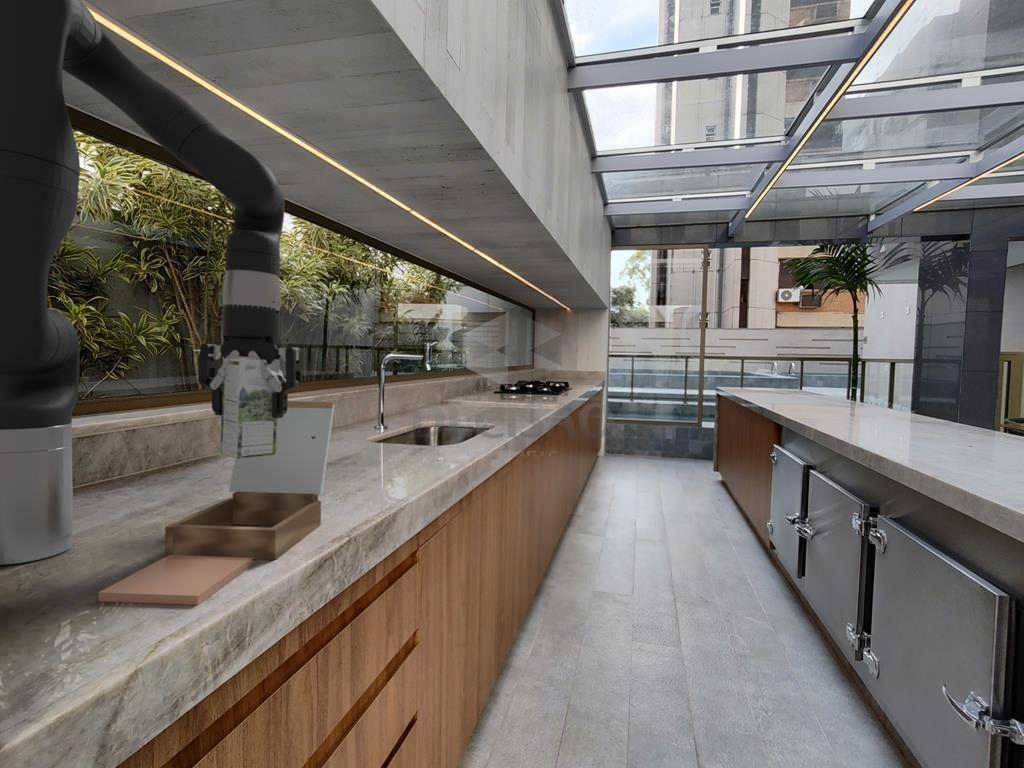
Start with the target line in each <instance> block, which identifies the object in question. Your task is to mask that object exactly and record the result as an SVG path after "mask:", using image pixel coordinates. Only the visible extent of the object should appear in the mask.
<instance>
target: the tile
mask: <svg viewBox="0 0 1024 768" xmlns="http://www.w3.org/2000/svg"><path fill="white" fill-rule="evenodd" d="M253 560H254V559H253V558H247V557H217V556H187V555H168V556H164V557H162V558H161V559H159V560H157V561H155V562H153V563H152V564H151V563H150V564H149V565H147V566H146V567H143V568H142V569H140V570H138V571H136V572H134V573H132V574H130V575H128V576H127V577H125V578H123V579H120V580H119V581H118V582H115V583H113V584H112V585H110V586H108V587H106V588H104V589H102V590H100V591H98V602H105V603H106V602H110V603H131V604H132V603H133V604H135V603H136V604H137V603H139V604H161V605H164V604H165V605H185V606H190V605H191V606H198V605H200V604H201V603H203V602H204V601H206V599H208V598H210V597H211V596H212V595H214V594H215V593H216V592H218V591H220V590H221V589H222V588H224V587H225V586H226V585H227V584H229V583H231V582H232V581H233V580H235V579H236V578H238V576H240V575H241V574H243V573H244V572H245V571H247V570H248V569H249V568H251V567H253Z"/></svg>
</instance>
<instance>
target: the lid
mask: <svg viewBox="0 0 1024 768" xmlns="http://www.w3.org/2000/svg"><path fill="white" fill-rule="evenodd" d="M287 404H288V405H287V412H286V414H284V416H283V417H282V418H277V437H276V454H275V455H268V456H259V457H249V458H238V459H237V458H234V464H233V469H232V474H231V479H230V484H229V490H228V492H230V493H235V492H254V493H288V494H315V495H318V496H320V495H323V491H324V489H323V488H324V481H325V476H326V475H325V474H326V470H327V464H328V457H329V456H328V455H329V454H328V453H329V448H330V441H331V434H332V433H331V432H332V426H333V420H334V412H335V409H336V401H331V400H330V401H326V400H325V401H321V400H320V401H319V400H289V399H288V403H287ZM311 436H315V438H314V439H312V437H311Z"/></svg>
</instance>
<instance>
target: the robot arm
mask: <svg viewBox="0 0 1024 768" xmlns="http://www.w3.org/2000/svg"><path fill="white" fill-rule="evenodd" d="M64 71H65V73H67V74H69V75H71V76H72V77H73V78H75V79H77V80H78V81H80V82H82V83H83V84H85V85H87V86H89V87H90V88H91V89H93V90H94V91H96V92H97V93H99V94H100V95H101V96H102V97H104V98H106V100H108V101H109V102H111V103H112V104H113V105H115V107H117V108H118V109H119V110H121V111H122V112H123V113H124V114H125V115H127V117H128V118H129V119H131V120H132V121H133V122H134V123H135V124H136V125H137V126H138V127H139V128H140V129H141V130H143V131H144V132H145V133H146V134H147V135H148V136H149V137H150V138H152V140H154V141H155V142H157V144H158V145H160V146H161V147H162V148H163V149H165V151H167V152H168V153H169V154H170V155H171V156H173V157H174V158H176V160H178V161H179V162H180V163H182V164H183V165H184V166H185V167H186V168H188V169H189V170H190V171H193V172H194V173H196V174H197V175H200V176H201V177H203V178H204V179H205V180H206V182H208V183H210V185H212V186H213V187H214V188H215V189H216V190H217V191H219V193H221V194H222V196H224V197H225V198H227V200H228V201H229V202H230V203H231V204H232V205H233V207H234V219H233V220H234V221H233V232H231V233H230V234H229V235H228V237H227V239H226V240H227V241H226V245H225V275H224V280H223V287H222V289H223V290H222V321H221V322H222V324H221V325H222V326H221V327H222V329H221V332H222V334H221V335H222V336H223V342H222V344H221V345H217V344H215V343H201V344H200V346H199V347H200V348H199V349H200V350H199V361H198V362H199V363H198V375H197V383H198V384H199V385H205V386H206V387H209V388H210V389H211V410H212V412H214V415H215V416H220V417H221V415H222V384H223V382H224V380H225V377H226V375H227V373H228V362H229V359H230V358H232V357H231V356H246V357H250V358H256V360H261V365H262V366H261V372H260V373H261V374H262V375H263V377H264V378H265V379H266V380H267V381H268V382H269V383H270V384H271V386H272V387H273V389H274V390H275V393H273V395H272V417H273V418H282V417H283V416H284V414H286V412H287V405H288V404H287V403H288V400H289V392H290V391H292V390H295V389H297V388H298V389H299V388H301V387H302V385H303V384H302V383H303V381H302V379H303V378H302V375H303V374H302V351H301V349H300V348H299V347H296V346H295V347H294V346H287V347H281V345H280V337H281V306H282V299H281V298H282V297H281V294H282V292H281V282H280V271H281V270H280V266H281V265H280V264H281V263H280V262H281V261H280V259H281V257H280V256H281V252H280V243H281V237H282V232H283V226H284V219H285V196H284V192H283V190H282V188H281V185H280V184H279V182H278V180H277V178H276V176H275V174H274V173H273V172H272V171H271V170H270V169H269V168H268V166H267V165H265V164H264V163H263V162H262V161H261V160H260V159H258V157H256V156H254V154H252V153H251V152H249V151H248V150H247V149H245V148H244V147H242V146H241V145H239V144H238V143H237V142H235V141H234V140H233V139H231V138H229V137H227V136H226V134H224V133H223V132H222V131H221V129H220V128H219V127H217V126H216V125H215V123H214V124H213V123H212V121H211V120H209V119H208V118H207V117H205V116H204V114H202V113H201V112H200V111H198V110H197V109H196V108H195V107H194V106H193V105H192V104H190V103H189V102H188V101H187V100H185V99H184V98H182V97H181V96H180V95H178V94H177V93H176V92H174V91H173V90H171V89H170V88H168V87H166V86H165V85H164V84H161V83H160V82H158V81H157V80H156V79H154V78H153V77H151V76H150V75H148V74H147V73H146V72H144V71H143V70H142V69H141V68H139V67H138V66H137V65H136V64H135V63H134V62H132V61H131V59H130V58H129V57H127V55H126V54H124V52H123V51H122V50H121V49H120V48H119V47H118V46H117V45H116V44H115V42H114V41H113V40H112V39H111V38H110V37H109V36H108V35H107V33H106V32H105V31H104V30H103V29H102V27H101V26H100V25H99V24H98V22H97V21H96V19H95V17H94V15H93V14H92V12H91V11H90V10H89V8H88V7H87V6H86V5H85V4H84V2H83V1H82V0H0V565H1V566H3V565H6V566H7V565H15V564H23V563H28V562H33V561H37V560H38V561H39V560H42V559H46V558H50V557H53V556H55V555H58V554H61V553H64V552H66V551H68V550H69V549H71V548H72V547H73V544H74V534H73V533H74V529H73V528H74V525H73V524H74V520H73V519H74V508H73V507H74V503H73V502H74V500H73V499H74V496H73V492H74V491H73V490H74V489H73V486H74V485H73V484H74V483H73V425H72V421H73V418H72V417H73V410H74V409H75V408H74V407H75V406H76V403H77V400H78V395H79V386H80V385H79V383H80V360H81V359H80V354H81V353H80V349H81V348H80V341H79V340H80V339H79V336H78V333H77V329H76V328H75V326H74V324H73V322H72V321H71V320H70V319H69V318H68V317H67V316H66V315H64V314H63V313H61V312H59V311H56V310H54V309H51V308H48V284H49V283H48V282H49V272H50V268H51V264H52V262H53V259H54V256H56V252H57V250H58V248H59V247H60V245H61V244H62V242H63V240H64V239H65V238H66V236H67V233H68V231H69V229H70V228H71V226H72V224H73V221H74V219H75V216H76V212H77V208H78V203H79V202H78V201H79V188H80V187H79V186H80V176H81V174H80V173H81V167H80V165H81V163H80V155H79V149H78V146H77V142H76V138H75V134H74V133H75V132H74V130H73V127H72V123H71V119H70V115H69V113H68V109H67V108H68V107H67V105H66V101H65V95H64V90H63V89H64V88H63V72H64ZM221 356H222V357H223V358H224V359H226V358H227V357H226V356H228V359H227V360H226V361H225V363H224V364H223V363H222V365H221V367H219V369H218V361H219V359H220V358H221ZM280 358H282V360H283V362H284V363H285V376H284V373H283V372H282V370H281V368H279V373H277V372H276V371H271V370H270V369H269V367H268V366H267V364H268V365H270V364H271V363H272V362H273V361H274V359H278V360H279V359H280ZM263 359H264V360H266V363H267V364H266V363H265V362H264V361H263ZM278 376H279V379H278V378H277V377H278Z"/></svg>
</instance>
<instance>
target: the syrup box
mask: <svg viewBox="0 0 1024 768" xmlns="http://www.w3.org/2000/svg"><path fill="white" fill-rule="evenodd" d="M226 357H227V358H226V359H224V357H223V359H222V360H223V361H222V365H223V364H224V363H225V361H226V360H227V359H228V356H226ZM231 357H232V358H230V359H229V362H228V373H227V375H226V377H225V380H224V382H223V384H222V415H221V416H220V418H221V422H220V423H221V424H220V445H219V446H220V447H219V448H220V449H219V450H220V451H219V452H220V453H221V455H224V456H226V457H227V456H228V457H230V458H234V459H235V458H237V459H238V458H249V457H259V456H268V455H275V454H276V437H277V418H273V417H272V395H273V393H275V390H274V389H273V387H272V386H271V384H270V383H269V382H268V381H267V380H266V379H265V378H264V377H263V375H262V374H261V373H260V372H261V366H262V365H261V360H256V358H250V357H246V356H231ZM263 361H264V362H265V363H266V360H264V359H263ZM266 364H267V363H266ZM267 366H268V367H269V369H270V370H271V371H276V372H277V373H279V369H280V360H279V359H274V361H273V362H272V363H271V364H270V365H268V364H267ZM277 378H278V379H279V376H278V377H277Z"/></svg>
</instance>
